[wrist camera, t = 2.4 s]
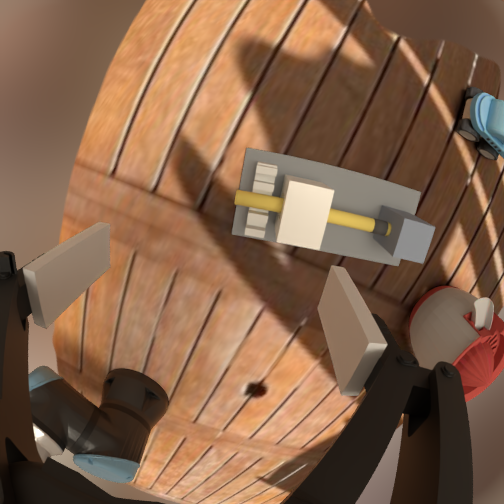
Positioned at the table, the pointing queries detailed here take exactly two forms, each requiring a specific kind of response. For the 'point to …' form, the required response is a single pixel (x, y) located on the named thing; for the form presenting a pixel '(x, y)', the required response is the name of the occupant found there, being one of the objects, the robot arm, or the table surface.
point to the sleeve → (303, 212)
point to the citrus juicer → (459, 336)
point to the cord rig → (335, 209)
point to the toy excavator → (483, 122)
